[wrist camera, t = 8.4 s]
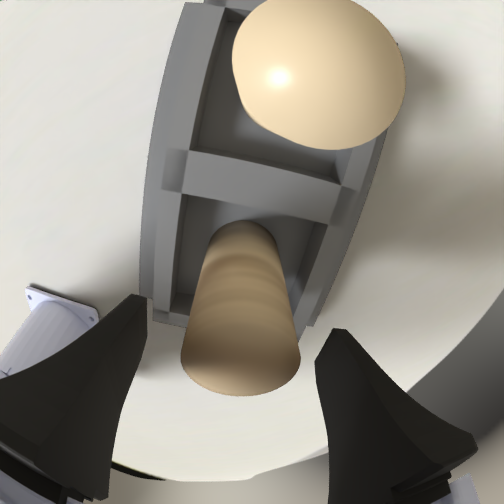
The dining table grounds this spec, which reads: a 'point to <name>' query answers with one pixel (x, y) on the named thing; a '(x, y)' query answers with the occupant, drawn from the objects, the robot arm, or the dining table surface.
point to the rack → (265, 141)
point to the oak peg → (241, 316)
